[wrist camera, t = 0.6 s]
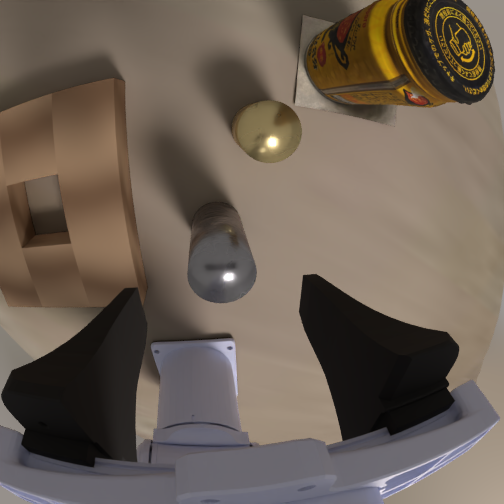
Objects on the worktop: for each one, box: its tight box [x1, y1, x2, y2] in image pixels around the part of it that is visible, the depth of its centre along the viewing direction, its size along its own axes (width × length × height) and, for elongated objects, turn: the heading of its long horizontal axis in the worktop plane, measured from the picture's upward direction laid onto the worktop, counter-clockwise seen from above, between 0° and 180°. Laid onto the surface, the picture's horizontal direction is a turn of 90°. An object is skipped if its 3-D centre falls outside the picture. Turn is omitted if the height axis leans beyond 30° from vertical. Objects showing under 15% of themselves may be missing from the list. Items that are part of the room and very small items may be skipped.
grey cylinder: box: [188, 202, 257, 303], centre depth 18 cm, size 4×4×7 cm
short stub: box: [232, 100, 302, 163], centre depth 17 cm, size 4×4×4 cm
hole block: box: [0, 78, 148, 307], centre depth 17 cm, size 16×14×2 cm
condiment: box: [295, 0, 495, 127], centre depth 12 cm, size 7×8×12 cm
